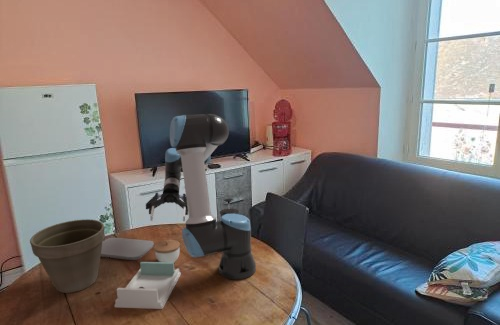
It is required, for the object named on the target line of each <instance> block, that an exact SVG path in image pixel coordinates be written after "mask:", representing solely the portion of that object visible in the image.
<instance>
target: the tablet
mask: <svg viewBox="0 0 500 325" xmlns="http://www.w3.org/2000/svg"><path fill="white" fill-rule="evenodd" d="M154 246H155V243H154V240H144V239H134V238H124V237H123V238H121V237H109V238H106V239H104V240H103V241H102V249H101V257H102V258H109V257H110V258H111V259H120V260H127V261H138V260H139V259H141V258H143V257H144V256H145V255H146V254H148V252H149V251H150V250H151V249H152V248H154ZM101 257H100V258H101Z"/></svg>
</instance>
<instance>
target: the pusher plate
mask: <svg viewBox="0 0 500 325" xmlns="http://www.w3.org/2000/svg"><path fill="white" fill-rule="evenodd" d="M174 263H175V262H174ZM174 263H173V262H159V261H140V262H139V265H140V268H141V275H173V274H174V273H175V271H174V270H175V264H174ZM140 268H139V269H140Z"/></svg>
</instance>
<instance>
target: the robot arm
mask: <svg viewBox="0 0 500 325" xmlns="http://www.w3.org/2000/svg"><path fill="white" fill-rule="evenodd" d="M229 132H230V129H229V126H228V124H227V122H226V121H225V119H224V118H222V117H221V116H219V115H217V114H215V113H213V114H212V113H206V114H205V113H204V114H182V115H177V116H173V118H172V120H171V121H170V127H169V143H170V146H171V148H168V149H166V151H165V154H164V155H165V157H164V160H165V162H164V163H165V164H164V165H165V170H164V174H165V175H164V183H163V189H162V193H161V194H160V193H158V192H155V195H153V197H151V198H150V199H149V200H148V201H147V202H146V203H145V210H148V215H150V219H149V220H150V221H151V222H153V219H154V214H155V209H156V208H158V207H159V206H161V205H164V204H166V203H167V204H175V205H178V207H180V208H182V209H183V214H182V215H183V218H182V221H183V222H185V227H183V228H182V229H181V235H182V241H183V244H184V247H185V249H186V251H187V253H188V255H189V256H190V257H192V258H198V257H200V258H201V257H204V256H208V255H212V254H216V253H221V252H222V253H221V257H220V261H219V265H218V272H219V274H220V276H222V277H223V278H226V279H229V280H243V279H247V278H249V277H251V276H253V275H254V274H255V273H256V270H257V265H256V263H257V262H256V260H255V258H254V256H253V253H252V237H251V236H252V227H251V220H250V219H249V218H248V217H247V216H245V215H242V214H239V213H238V214H225V215H223V216H222V217H221V216H220V220H216V217H215V216H214V215H213V214H212V210H211V202H210V196H209V195H210V194H209V187H208V179H207V174H206V172H207V171H206V166H205V165H209V164H210V163H211V160H212V159H211V158H212V157H211V155H212V153H213V152H215V150H216V149H217V148H218V146H221V145H223V144H224V143H225V142H226V141H227V139H228V137H229ZM181 170H182V171H181ZM182 173H183V174H182ZM182 176H183V183H184V190H185V193H182V194H180V187H181V178H182ZM186 216H188V218H187V219H186Z"/></svg>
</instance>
